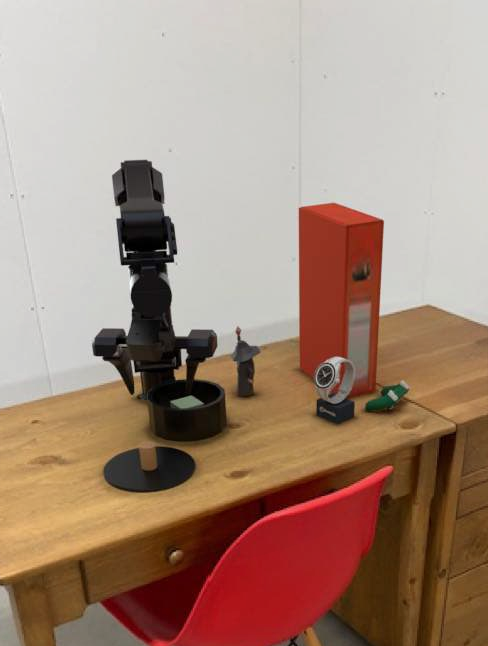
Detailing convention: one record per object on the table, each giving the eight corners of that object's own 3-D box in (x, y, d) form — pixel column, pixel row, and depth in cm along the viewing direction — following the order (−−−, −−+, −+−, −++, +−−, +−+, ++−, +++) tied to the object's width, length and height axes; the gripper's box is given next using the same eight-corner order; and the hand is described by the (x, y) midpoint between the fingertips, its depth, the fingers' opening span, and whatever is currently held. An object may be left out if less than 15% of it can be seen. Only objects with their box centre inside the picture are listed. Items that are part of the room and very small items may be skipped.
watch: (308, 418, 146) (309, 360, 140) (339, 405, 150) (341, 349, 144) (330, 427, 142) (331, 369, 136) (361, 414, 147) (363, 357, 141)
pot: (135, 430, 142) (131, 396, 139) (188, 405, 151) (186, 373, 147) (189, 451, 135) (186, 416, 131) (242, 424, 144) (240, 391, 140)
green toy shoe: (373, 422, 148) (396, 406, 144) (361, 406, 147) (384, 389, 143) (393, 404, 154) (415, 388, 150) (381, 389, 154) (403, 372, 150)
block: (183, 432, 140) (181, 409, 138) (172, 423, 143) (169, 401, 141) (205, 426, 142) (203, 403, 140) (193, 417, 145) (191, 395, 143)
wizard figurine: (266, 395, 155) (265, 335, 148) (242, 402, 152) (240, 341, 145) (242, 382, 160) (240, 323, 154) (219, 388, 158) (216, 329, 151)
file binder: (339, 399, 153) (345, 224, 135) (298, 369, 165) (298, 206, 148) (375, 391, 155) (385, 219, 138) (332, 363, 168) (336, 202, 151)
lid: (85, 476, 128) (80, 448, 125) (152, 443, 138) (149, 416, 135) (147, 505, 120) (144, 476, 118) (214, 469, 130) (212, 441, 127)
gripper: (74, 312, 114) (90, 413, 122) (203, 313, 112) (209, 416, 120) (96, 291, 123) (109, 386, 131) (215, 292, 121) (220, 388, 130)
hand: (160, 394), depth 128 cm, fingers open, 9 cm apart
